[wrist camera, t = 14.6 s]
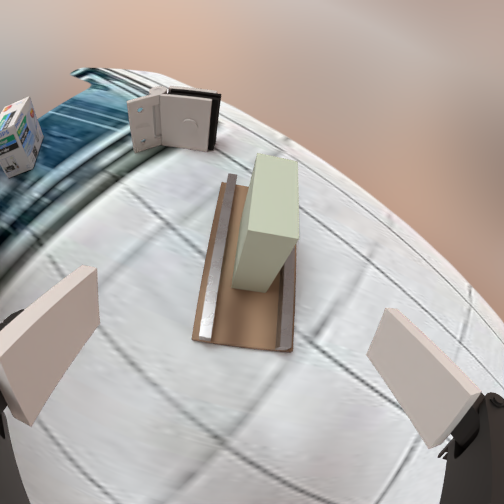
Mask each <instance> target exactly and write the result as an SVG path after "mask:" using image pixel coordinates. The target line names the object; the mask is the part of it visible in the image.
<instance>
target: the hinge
mask: <svg viewBox="0 0 504 504" xmlns="http://www.w3.org/2000/svg"><path fill="white" fill-rule="evenodd" d="M220 100H221V94H217V91H213V90H205V89H197V88H188V87H177V86H170V87H169V93H168V94H167V89H166V87H162V86H158V87H154V88H152V89H150V90H149V95H147V96H143V97H140V98H136V99H132V100H129V101H127V108H128V115H129V123H130V130H131V136H132V142H133V148H134V152H135V153H137V152H140V151H143V150H146V149H149V148H152V147H155V146H159V145H163V146H170V147H177V148H185V149H191V150H198V151H204V152H207V150H213V149H214V146H215V143H216V134H217V125H218V116H219V108H220ZM139 108H143V110H142V111H141V112H138V111H137V110H138V109H139ZM143 139H146V141H145V142H141V140H143Z"/></svg>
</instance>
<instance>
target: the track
mask: <svg viewBox="0 0 504 504" xmlns="http://www.w3.org/2000/svg"><path fill="white" fill-rule="evenodd" d="M236 179H237V175H235V174H228V179H227V183H223V182H222V183H221V187H220V192H219V196H218V201H217V206H216V210H215V215H214V220H213V224H212V229H211V234H210V239H209V244H208V249H207V254H206V259H205V265H204V270H203V275H202V281H201V286H200V292H199V298H198V303H197V309H196V315H195V321H194V327H193V334H192V340H195V341H201V342H207V343H214V344H221V345H228V346H235V347H243V348H251V349H260V350H270V351H280V352H292V351H293V336H294V314H295V284H296V245H295V246H294V248H293V250H292V251H291V253H290V255H289V256H288V258H287V259H286V261H285V263H284V264H283V266H282V268H281V269H280V271H279V273H278V274H277V276H276V277H275V279H274V281H273V282H272V284H271V285H270V287H269V289H268V290H267V292H266V293H262V292H255V291H249V290H242V289H236V288H231V286H232V278H233V271H234V264H235V256H236V249H237V242H238V235H239V227H240V221H241V217H242V213H243V209H244V205H245V201H246V197H247V193H248V189H249V187H247V186H241V185H236Z"/></svg>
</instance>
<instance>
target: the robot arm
mask: <svg viewBox="0 0 504 504" xmlns="http://www.w3.org/2000/svg"><path fill="white" fill-rule="evenodd" d="M99 324H100V318H99V304H98V282H97V268H95V267H90V266H85V265H82V266H80V267H79V268H78V269H76V270H75V271H74V272H72V273H71V274H70V275H68V276H67V277H65V278H64V279H63V280H62V281H60V282H59V283H58V284H56V285H55V286H54V287H52V288H51V289H50V290H49V291H47V292H46V293H45V294H43V295H42V296H41V297H40V298H38V299H37V300H36V301H35V302H34V303H32V304H31V305H30V306H29V307H27V308H26V309H25V310H24V309H22V310H20V311H18V312H15V313H13V314H11V315H10V316H9V317H8V318H6V319H5V320H4V321H3V323H1V324H0V504H30V502H29V499H28V497H27V494H26V491H25V488H24V486H23V483H22V480H21V477H20V474H19V470H18V467H17V464H16V460H15V456H14V453H13V449H12V444H11V440H10V435H9V430H8V425H7V419H6V416H5V414H4V412H3V410H4V409H5V408H6V406H7V405H8V407H9V409H10V411H11V413H12V415H13V416H14V417H15V418H16V419H18V420H20V421H22V422H23V423H25V424H27V425H29V426H31V427H32V425H33V423H34V421H35V420H36V418H37V416H38V415H39V413H40V411H41V410H42V408H43V406H44V405H45V403H46V401H47V400H48V398H49V397H50V395H51V393H52V392H53V390H54V389H55V387H56V386H57V384H58V382H59V381H60V379H61V378H62V376H63V375H64V373H65V372H66V370H67V369H68V367H69V366H70V365H71V363H72V362H73V360H74V359H75V357H76V356H77V354H78V353H79V352H80V350H81V349H82V347H83V346H84V345H85V343H86V342H87V340H88V339H89V338H90V336H91V335H92V334H93V332H94V331H95V329H96V328H97V327H98V325H99ZM366 355H367V357H368V358H369V360H370V361H371V362H372V364H373V365H374V367H375V368H376V370H377V371H378V373H379V374H380V376H381V377H382V378H383V380H384V381H385V383H386V384H387V386H388V387H389V389H390V390H391V392H392V393H393V395H394V396H395V398H396V399H397V401H398V402H399V404H400V405H401V407H402V408H403V410H404V411H405V413H406V414H407V416H408V417H409V419H410V421H411V422H412V424H413V425H414V427H415V428H416V430H417V431H418V433H419V435H420V436H421V438H422V439H423V441H424V442H425V444H426V446H427V447H428V449H430V448H433V447H436V446H438V445H441V444H442V443H443V442H444V441H445V439H446V438H447V437H448V436H449V435H450V434H451V435H452V436H453V437H454V438H453V439H452V440H451V441H450V442H449V443H448V444H447V446H446V447H445V448H444V449H443V450H442V451H441V452H440V453H439V455H438V458H440V457H441V456H442V455H443V454H444V453H445V452H448V453H447V454H446V455H445V456H444V457H443V459H445V460H447V463H446V471H445V477H444V483H443V489H442V494H441V499H440V504H504V399H503V398H502V397H501V396H500V395H498V394H496V393H491V392H490V393H487V394H486V396H484V395H483V394H482V393H481V392H482V391H481V390H480V389H479V388H478V387H477V386H476V385H475V384H474V383H473V382H472V381H471V379H470V378H469V377H468V376H467V375H466V374H465V373H464V372H463V371H462V370H461V369H460V368H459V367H458V366H457V365H456V364H455V363H454V362H453V361H452V360H451V359H450V358H449V357H448V356H447V355H446V354H445V353H444V352H443V351H442V350H441V349H440V348H439V347H438V346H436V345H435V344H434V343H433V342H432V341H431V340H430V339H429V338H428V337H427V336H426V335H425V334H424V333H423V332H422V331H421V330H420V329H419V328H417V327H416V326H415V325H414V324H413V323H412V322H411V321H410V320H409V319H408V318H407V317H406V316H404V315H403V314H402V313H401V312H400V311H399V310H398V309H393V308H385V310H384V313H383V316H382V318H381V321H380V323H379V326H378V328H377V331H376V333H375V336H374V338H373V340H372V343H371V345H370V347H369V350H368V352H367V354H366Z"/></svg>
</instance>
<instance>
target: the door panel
mask: <svg viewBox="0 0 504 504" xmlns="http://www.w3.org/2000/svg"><path fill="white" fill-rule="evenodd" d="M298 240H299V195H298V162H297V161H293V160H288V159H284V158H279V157H274V156H269V155H264V154H259V153H257V156H256V160H255V164H254V168H253V172H252V176H251V180H250V184H249V189H248V193H247V197H246V201H245V205H244V209H243V213H242V217H241V221H240V227H239V235H238V242H237V249H236V256H235V264H234V271H233V278H232V286H231V288H236V289H242V290H249V291H255V292H262V293H266V292H267V290H268V289H269V287H270V285H271V284H272V282H273V281H274V279H275V277H276V276H277V274H278V273H279V271H280V269H281V268H282V266H283V264H284V263H285V261H286V259H287V258H288V256H289V255H290V253H291V251H292V250H293V248H294V246H295V245H296V243H297V241H298Z"/></svg>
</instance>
